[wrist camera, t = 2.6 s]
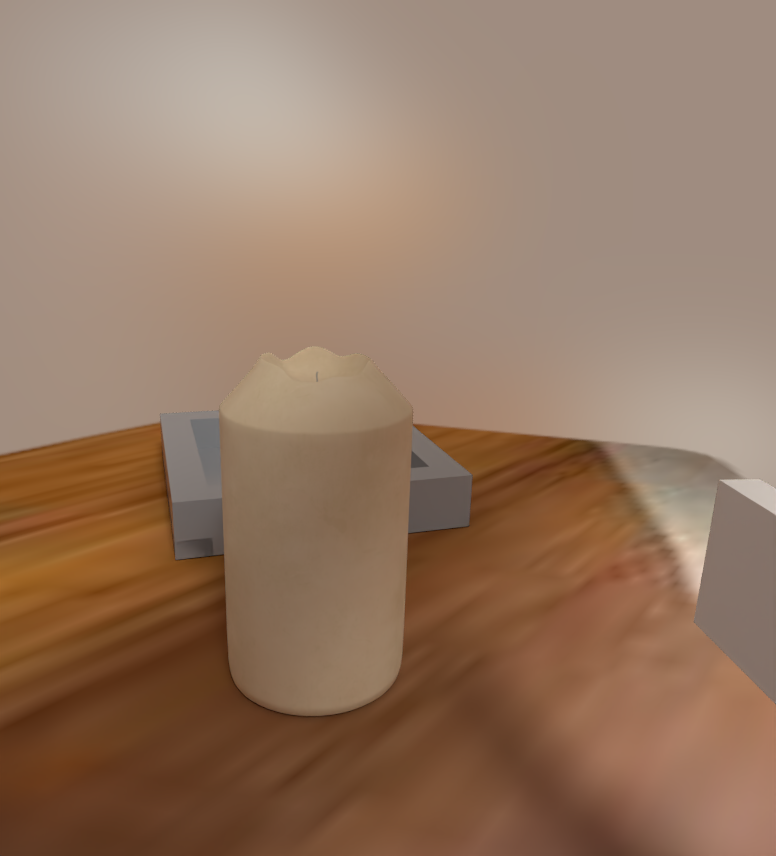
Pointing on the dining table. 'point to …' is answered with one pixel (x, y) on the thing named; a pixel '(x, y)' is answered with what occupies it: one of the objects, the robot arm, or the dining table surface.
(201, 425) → the charcoal dish
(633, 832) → the dining table surface
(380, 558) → the candle
